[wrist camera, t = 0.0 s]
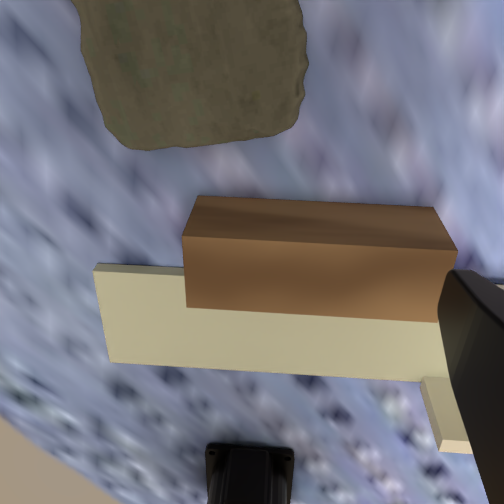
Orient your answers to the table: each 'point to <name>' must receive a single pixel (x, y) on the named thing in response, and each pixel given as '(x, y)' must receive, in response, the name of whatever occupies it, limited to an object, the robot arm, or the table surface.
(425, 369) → the board
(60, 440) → the table surface
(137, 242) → the table surface
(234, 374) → the table surface
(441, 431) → the end cap
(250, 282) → the slat
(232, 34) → the stone slab
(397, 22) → the table surface
